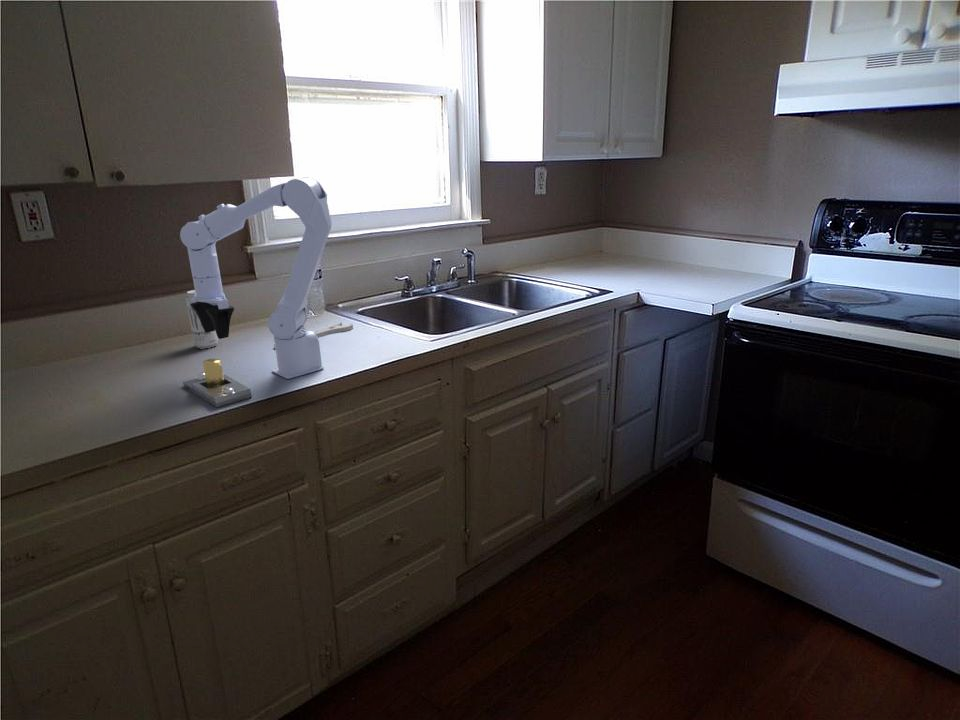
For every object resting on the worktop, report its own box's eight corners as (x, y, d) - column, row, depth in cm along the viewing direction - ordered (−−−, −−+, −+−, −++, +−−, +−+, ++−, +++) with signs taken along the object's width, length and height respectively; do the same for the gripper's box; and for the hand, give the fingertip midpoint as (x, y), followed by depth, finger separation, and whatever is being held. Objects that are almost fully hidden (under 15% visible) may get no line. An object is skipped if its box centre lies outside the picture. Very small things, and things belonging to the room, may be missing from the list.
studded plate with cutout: (216, 377, 144) (215, 367, 143) (251, 397, 132) (249, 386, 131) (183, 386, 139) (181, 375, 138) (216, 407, 127) (214, 396, 126)
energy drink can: (190, 349, 165) (179, 294, 160) (201, 342, 171) (191, 288, 166) (212, 349, 165) (202, 293, 160) (222, 342, 171) (213, 288, 166)
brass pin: (220, 387, 138) (215, 357, 136) (229, 391, 136) (223, 360, 133) (205, 392, 135) (199, 361, 133) (213, 396, 133) (207, 365, 131)
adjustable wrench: (278, 351, 163) (277, 345, 163) (265, 347, 167) (264, 341, 167) (356, 329, 180) (355, 323, 180) (343, 326, 184) (342, 320, 184)
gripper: (176, 274, 142) (187, 332, 146) (201, 283, 132) (211, 344, 136) (207, 270, 146) (217, 326, 151) (233, 277, 136) (243, 337, 141)
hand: (216, 334), depth 144 cm, fingers open, 7 cm apart
